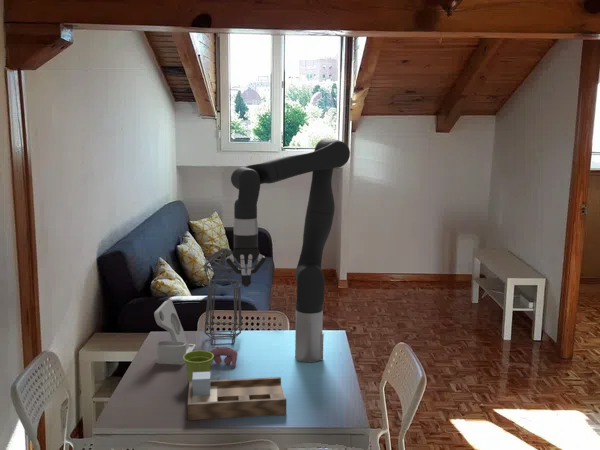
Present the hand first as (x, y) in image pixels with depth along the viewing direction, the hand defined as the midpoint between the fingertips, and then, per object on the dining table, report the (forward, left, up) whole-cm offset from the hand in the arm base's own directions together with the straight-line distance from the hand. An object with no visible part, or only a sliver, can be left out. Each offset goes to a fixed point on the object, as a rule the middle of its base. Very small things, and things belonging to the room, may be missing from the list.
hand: (246, 285), depth 193 cm
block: (+14, +19, -26) cm, 35 cm away
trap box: (+4, +23, -29) cm, 37 cm away
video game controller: (+8, -7, -29) cm, 31 cm away
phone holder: (+23, -18, -29) cm, 41 cm away
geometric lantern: (+6, -30, -29) cm, 42 cm away
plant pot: (+15, +6, -29) cm, 33 cm away
